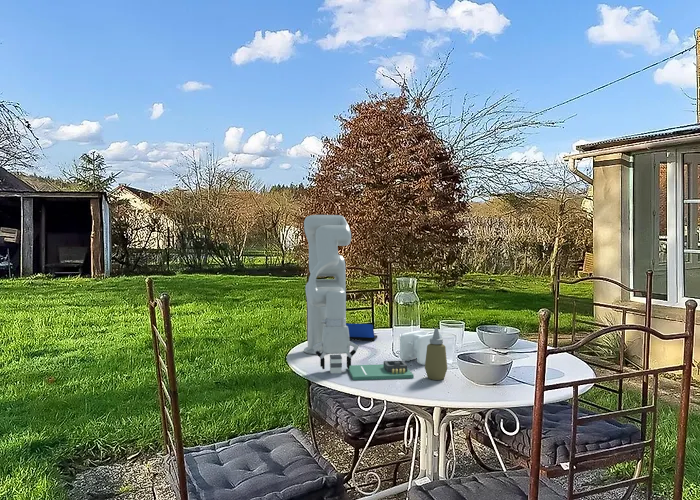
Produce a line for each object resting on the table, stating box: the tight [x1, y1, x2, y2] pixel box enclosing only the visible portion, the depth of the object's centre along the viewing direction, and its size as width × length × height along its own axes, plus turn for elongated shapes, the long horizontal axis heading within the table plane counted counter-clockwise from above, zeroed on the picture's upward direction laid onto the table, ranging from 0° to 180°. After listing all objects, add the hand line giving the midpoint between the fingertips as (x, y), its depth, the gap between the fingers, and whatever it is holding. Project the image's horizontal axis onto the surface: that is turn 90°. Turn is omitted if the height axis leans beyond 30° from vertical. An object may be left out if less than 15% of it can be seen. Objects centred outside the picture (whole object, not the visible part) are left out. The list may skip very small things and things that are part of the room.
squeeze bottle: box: [424, 328, 448, 381], centre depth 194 cm, size 8×8×18 cm
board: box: [347, 359, 415, 381], centre depth 200 cm, size 16×22×5 cm
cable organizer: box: [399, 330, 443, 366], centre depth 219 cm, size 15×11×12 cm
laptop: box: [346, 322, 378, 342], centre depth 261 cm, size 16×13×9 cm
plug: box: [329, 354, 343, 374], centre depth 202 cm, size 4×4×6 cm
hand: (335, 367), depth 202 cm, fingers open, 9 cm apart
